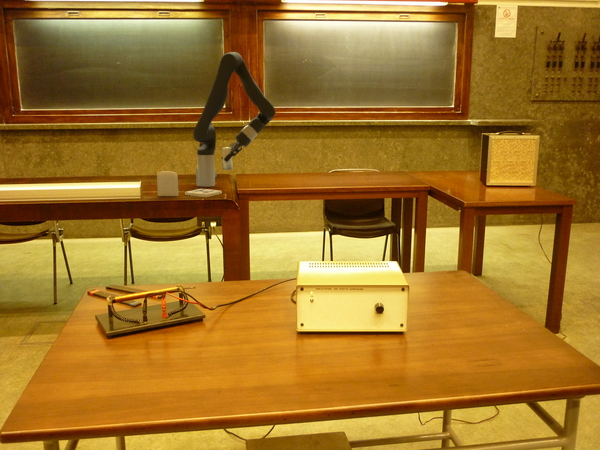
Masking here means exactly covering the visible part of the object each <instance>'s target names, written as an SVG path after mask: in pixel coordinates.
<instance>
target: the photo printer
mask: <svg viewBox="0 0 600 450" xmlns="http://www.w3.org/2000/svg"><path fill="white" fill-rule="evenodd" d="M178 178H179V177H178V173H177V172H175V171H171V170H165V171H164V170H163V171H159V172H157V173H156V185H157V187H156V188H157V196H158V197H178V196H179V184H178V180H179V179H178Z"/></svg>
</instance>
